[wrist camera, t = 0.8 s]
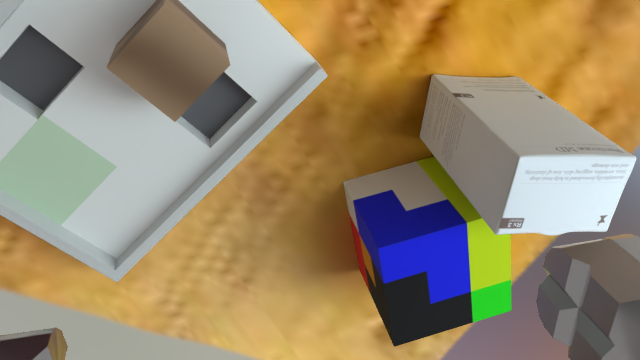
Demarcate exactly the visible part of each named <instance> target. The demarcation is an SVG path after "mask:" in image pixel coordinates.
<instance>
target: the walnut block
mask: <svg viewBox="0 0 640 360" xmlns="http://www.w3.org/2000/svg"><path fill="white" fill-rule="evenodd" d="M229 66H230V61H229V57H228V53H227V49H226V45H225V43H224V42H223V41H222V40H221V39H220V38H219V37H218V36H216V35H215V34H214V33H213V32H212V31H211V30H210V29H209V28H208V27H207V26H206V25H205V24H204V23H202V22H201V21H200V20H199V19H198V18H197V17H196V16H195V15H194V14H193V13H192V12H191V11H190V10H188V9H187V8H186V7H185V6H184V5H183V4H182V3H181V2H180V1H179V0H156V1H155V2H154V4H153V5H152V6H151V7H150V8H149V9H148V10H147V11H146V12H145V13H144V15H143V16H142V17H141V18H140V19H139V20H138V21H137V22H136V23H135V25H134V26H133V27H132V28H131V29H130V30H129V31H128V32H127V33H126V35H125V36H124V37H123V38H122V39H121V40H120V41H119V42H118V43H117V44H116V46H115V48H114V51H113V53H112V56H111V58H110V60H109V63H108V65H107V69H108V70H110V71H111V72H112V73H113V74H115V75H116V76H117V77H118V78H120V79H121V80H122V81H123V82H125V83H126V84H127V85H129V86H130V87H131V88H132V89H134V90H135V91H136V92H137V93H139V94H140V95H141V96H142V97H144V98H145V99H146V100H148V101H149V102H150V103H151V104H153V105H154V106H155V107H156V108H158V109H159V110H160V111H161V112H163V113H164V114H165V115H166V116H168V117H169V118H170V119H172V120H173V121H174V122H176V121H177V120H178V119H179V118H180V117H181V116H182V115H183V113H184V112H185V111H186V110H187V109H188V108H189V107H190V106H191V105H192V104H193V103H194V102H195V101H196V100H197V99H198V98H199V97H200V96H201V95H202V94H203V93H204V92H205V91H206V90H207V89H208V88H209V87H210V86H211V85H212V84H213V82H214V81H215V80H216V79H217V78H218V77H219V76H220V75H221V74H222V73H223V72H224V71H225V70H226V69H227V68H228V67H229Z"/></svg>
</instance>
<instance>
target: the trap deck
mask: <svg viewBox="0 0 640 360" xmlns="http://www.w3.org/2000/svg"><path fill="white" fill-rule="evenodd" d="M155 1H156V0H1V1H0V215H1V216H3V217H5V218H6V219H8V220H10V221H12V222H13V223H15V224H17V225H19V226H20V227H22V228H24V229H25V230H27V231H29V232H31V233H32V234H34V235H36V236H38V237H39V238H41V239H43V240H45V241H46V242H48V243H50V244H51V245H53V246H55V247H57V248H58V249H60V250H62V251H64V252H65V253H67V254H69V255H71V256H72V257H74V258H76V259H77V260H79V261H81V262H83V263H84V264H86V265H88V266H90V267H91V268H93V269H95V270H97V271H98V272H100V273H102V274H103V275H105V276H107V277H109V278H110V279H112V280H114V281H116V282H118V281H119V280H120V279H121V278H122V277H123V276H124V275H125V274H126V273H127V272H128V271H129V270H130V269H131V268H132V267H133V266H134V265H135V264H136V263H137V262H138V261H139V260H140V259H141V258H142V257H143V256H144V255H145V254H146V253H147V252H148V251H150V250H151V249H152V248H153V247H154V246H155V245H156V244H157V243H158V242H159V241H160V240H161V239H162V238H163V237H164V236H165V235H166V234H167V233H168V232H169V231H170V230H171V229H172V228H173V227H174V226H175V225H176V224H177V223H178V222H179V221H180V220H181V219H182V218H183V217H184V216H185V215H186V214H187V213H188V212H189V211H190V210H191V209H192V208H193V207H194V206H195V205H196V204H197V203H199V202H200V201H201V200H202V199H203V198H204V197H205V196H206V195H207V194H208V193H209V192H210V191H211V190H212V189H213V188H214V187H215V186H216V185H217V184H218V183H219V182H220V181H221V180H222V179H223V178H224V177H225V176H226V175H227V174H228V173H229V172H230V171H231V170H232V169H233V168H234V167H235V166H236V165H237V164H238V163H239V162H240V161H241V160H242V159H243V158H244V157H245V156H246V155H248V154H249V153H250V152H251V151H252V150H253V149H254V148H255V147H256V146H257V145H258V144H259V143H260V142H261V141H262V140H263V139H264V138H265V137H266V136H267V135H268V134H269V133H270V132H271V131H272V130H273V129H274V128H275V127H276V126H277V125H278V124H279V123H280V122H281V121H282V120H283V119H284V118H285V117H286V116H287V115H288V114H289V113H290V112H291V111H292V110H293V109H294V108H295V107H297V106H298V105H299V104H300V103H301V102H302V101H303V100H304V99H305V98H306V97H307V96H308V95H309V94H310V93H311V92H312V91H313V90H314V89H315V88H316V87H317V86H318V85H319V84H320V83H321V82H322V81H323V80H324V79H325V78H326V77H327V76H328V75H327V74H326V72H325V71H324V70H323V68H322V67H321V65H320V64H319V63H318V61H317V60H316V59H315V58H314V57H313V56H312V55H311V54H310V53H309V52H308V51H307V50H306V49H305V48H304V47H303V46H302V45H301V44H300V43H299V42H298V41H297V40H296V39H295V38H294V37H293V36H292V35H291V34H290V33H289V32H288V31H287V30H286V29H285V28H284V27H283V26H282V25H281V24H280V23H279V22H278V21H277V20H276V19H275V18H274V17H273V16H272V14H271V13H270V12H269V11H268V10H267V9H266V8H265V7H264V6H263V5H262V4H261V3H260V2H259V1H258V0H179V1H180V2H181V3H182V4H183V5H184V6H185V7H186V8H187V9H188V10H190V11H191V12H192V13H193V14H194V15H195V16H196V17H197V18H198V19H199V20H200V21H201V22H202V23H204V24H205V25H206V26H207V27H208V28H209V29H210V30H211V31H212V32H213V33H214V34H215V35H216V36H218V37H219V38H220V39H221V40H222V41H223V42H224V43H225V45H226V49H227V53H228V57H229V61H230V66H229V67H228V68H227V69H226V70H225V71H224V72H223V73H222V74H221V75H220V76H219V77H218V78H217V79H216V80H215V81H214V82H213V84H212V85H211V86H210V87H209V88H208V89H207V90H206V91H205V92H204V93H203V94H202V95H201V96H200V97H199V98H198V99H197V100H196V101H195V102H194V103H193V104H192V105H191V106H190V107H189V108H188V109H187V110H186V111H185V112H184V113H183V115H182V116H181V117H180V118H179V119H178V120H177V121H176V122H174V121H173V120H172V119H170V118H169V117H168V116H166V115H165V114H164V113H163V112H161V111H160V110H159V109H158V108H156V107H155V106H154V105H153V104H151V103H150V102H149V101H148V100H146V99H145V98H144V97H142V96H141V95H140V94H139V93H137V92H136V91H135V90H134V89H132V88H131V87H130V86H129V85H127V84H126V83H125V82H123V81H122V80H121V79H120V78H118V77H117V76H116V75H115V74H113V73H112V72H111V71H110V70H108V69H107V65H108V63H109V60H110V58H111V56H112V53H113V51H114V48H115V46H116V44H117V43H118V42H119V41H120V40H121V39H122V38H123V37H124V36H125V35H126V33H127V32H128V31H129V30H130V29H131V28H132V27H133V26H134V25H135V23H136V22H137V21H138V20H139V19H140V18H141V17H142V16H143V15H144V13H145V12H146V11H147V10H148V9H149V8H150V7H151V6H152V5H153V4H154V2H155Z"/></svg>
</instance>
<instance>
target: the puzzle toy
mask: <svg viewBox="0 0 640 360" xmlns="http://www.w3.org/2000/svg"><path fill="white" fill-rule="evenodd" d="M343 184H344V190H345V195H346V200H347V205H348V210H349V216H350V221H351V226H352V231H353V236H354V242H355V247H356V252H357V257H358V262H359V268H360V271H361V273H362V276H363V278H364V280H365V282H366V285H367V287H368V289H369V291H370V294H371V296H372V298H373V300H374V303H375V305H376V307H377V309H378V311H379V314H380V316H381V318H382V320H383V323H384V325H385V327H386V329H387V332H388V334H389V336H390V338H391V340H392V343H393V345H394V346H398V345H401V344H404V343H407V342H411V341H414V340H417V339H420V338H424V337H427V336H430V335H433V334H437V333H440V332H443V331H446V330H450V329H453V328H456V327H459V326H463V325H466V324H469V323H472V322H476V321H479V320H482V319H485V318H489V317H492V316H495V315H498V314H502V313H505V312H508V311H511V234H501V235H496V234H494V232H493V231H492V230H491V228H490V227H489V226H488V225H487V223H486V222H485V221H484V219H483V218H482V217H481V216H480V214H479V213H478V212H477V210H476V209H475V208H474V206H473V205H472V204H471V203H470V201H469V200H468V199H467V197H466V196H465V195H464V194H463V192H462V191H461V190H460V189H459V187H458V186H457V185H456V183H455V182H454V181H453V179H452V178H451V177H450V176H449V174H448V173H447V172H446V171H445V169H444V168H443V167H442V165H441V164H440V163H439V162H438V160H437V159H436V158H435V156H433V157H430V158H426V159H422V160H419V161H415V162H412V163H408V164H404V165H401V166H397V167H393V168H390V169H386V170H383V171H379V172H375V173H372V174H368V175H365V176H361V177H357V178H354V179H350V180H346V181H343Z"/></svg>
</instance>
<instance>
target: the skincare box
mask: <svg viewBox="0 0 640 360" xmlns="http://www.w3.org/2000/svg"><path fill="white" fill-rule="evenodd" d="M420 139H421V140H422V141H423V142H424V144H425V145H426V146H427V147H428V149H429V150H430V151H431V153H432V154H433V155H434V156H435V158H436V159H437V160H438V162H439V163H440V164H441V165H442V167H443V168H444V169H445V171H446V172H447V173H448V174H449V176H450V177H451V178H452V179H453V181H454V182H455V183H456V185H457V186H458V187H459V189H460V190H461V191H462V192H463V194H464V195H465V196H466V197H467V199H468V200H469V201H470V203H471V204H472V205H473V206H474V208H475V209H476V210H477V212H478V213H479V214H480V216H481V217H482V218H483V219H484V221H485V222H486V223H487V225H488V226H489V227H490V228H491V230H492V231H493V232H494V234H496V235H501V234H517V233H541V234H544V235H560V234H563V233H566V232H573V231H574V232H575V231H594V232H604V231H607V229H608V227H609V224H610V221H611V219H612V216H613V214H614V211H615V209H616V207H617V204H618V201H619V199H620V196H621V194H622V191H623V189H624V187H625V184H626V182H627V180H628V177H629V176H630V173H631V171H632V169H633V166H634V163H635V161H636V157H635V156H633V155H631V154H630V153H628V152H627V151H625V150H624V149H622V148H621V147H619V146H618V145H617V144H615V143H614V142H612V141H611V140H609V139H608V138H606V137H605V136H603V135H602V134H601V133H599V132H598V131H596V130H595V129H593V128H592V127H591V126H589V125H588V124H586V123H585V122H583V121H582V120H581V119H579V118H578V117H576V116H575V115H573V114H572V113H571V112H569V111H568V110H566V109H565V108H563V107H562V106H561V105H559V104H558V103H556V102H555V101H553V100H552V99H550V98H549V97H547V96H546V95H544V94H543V93H542V92H540V91H539V90H537V89H536V88H534V87H533V86H532V85H530V84H529V83H527V82H526V81H524V80H523V79H522V78H519V77H499V78H492V77H462V76H448V75H438V74H434V75H432V77H431V81H430V86H429V91H428V96H427V101H426V106H425V111H424V116H423V121H422V126H421V131H420Z"/></svg>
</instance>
